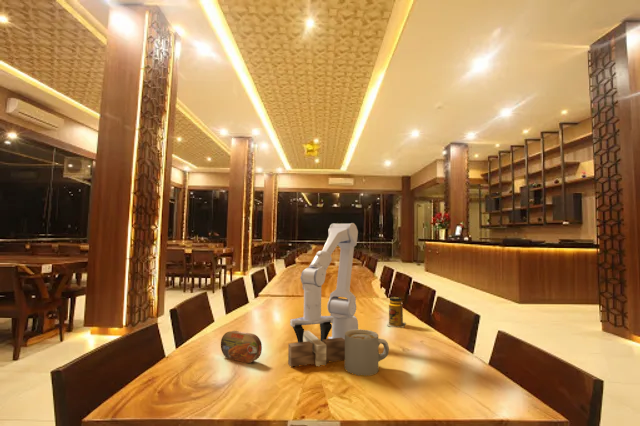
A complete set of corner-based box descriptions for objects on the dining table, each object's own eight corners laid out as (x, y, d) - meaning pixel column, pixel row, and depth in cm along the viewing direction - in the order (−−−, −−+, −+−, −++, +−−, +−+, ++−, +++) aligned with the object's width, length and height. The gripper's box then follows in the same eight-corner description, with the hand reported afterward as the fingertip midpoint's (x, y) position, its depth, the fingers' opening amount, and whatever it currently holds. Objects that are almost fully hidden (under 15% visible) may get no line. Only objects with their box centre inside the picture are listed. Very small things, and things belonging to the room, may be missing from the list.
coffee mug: (346, 375, 91) (346, 339, 92) (343, 361, 101) (343, 329, 102) (393, 376, 91) (393, 339, 92) (386, 362, 101) (386, 329, 102)
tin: (219, 356, 104) (220, 329, 105) (226, 353, 107) (227, 327, 108) (256, 366, 97) (257, 337, 98) (263, 362, 100) (263, 334, 101)
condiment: (386, 326, 142) (386, 298, 143) (389, 321, 150) (389, 295, 151) (403, 328, 140) (403, 299, 141) (405, 323, 148) (405, 296, 149)
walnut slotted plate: (341, 356, 106) (341, 337, 106) (345, 359, 103) (345, 340, 103) (288, 363, 99) (288, 343, 100) (291, 367, 96) (291, 346, 97)
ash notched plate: (308, 348, 113) (308, 330, 114) (326, 365, 98) (326, 344, 99) (300, 349, 112) (300, 331, 112) (316, 366, 97) (317, 346, 98)
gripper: (295, 308, 100) (294, 353, 99) (337, 305, 106) (337, 348, 105) (288, 304, 107) (287, 346, 106) (329, 301, 112) (328, 341, 111)
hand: (311, 346), depth 106 cm, fingers open, 7 cm apart
